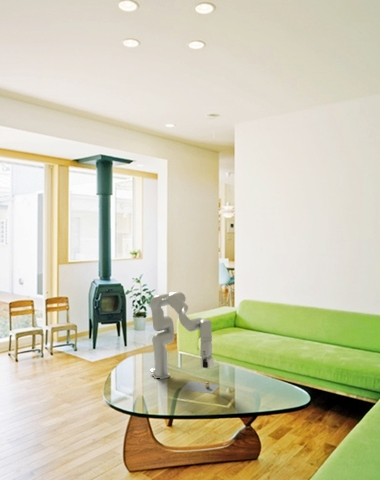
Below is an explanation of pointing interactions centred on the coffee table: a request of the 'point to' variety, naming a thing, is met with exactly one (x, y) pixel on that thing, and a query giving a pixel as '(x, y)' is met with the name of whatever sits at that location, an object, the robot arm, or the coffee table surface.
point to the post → (207, 385)
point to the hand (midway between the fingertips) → (207, 365)
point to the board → (200, 387)
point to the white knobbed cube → (210, 362)
